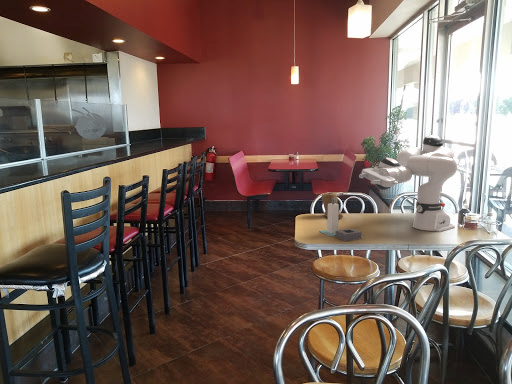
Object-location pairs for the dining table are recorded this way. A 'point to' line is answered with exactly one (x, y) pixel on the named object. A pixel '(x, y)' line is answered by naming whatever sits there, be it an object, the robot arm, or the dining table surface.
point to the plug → (332, 217)
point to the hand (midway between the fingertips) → (365, 179)
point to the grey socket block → (348, 234)
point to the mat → (328, 233)
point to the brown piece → (327, 200)
